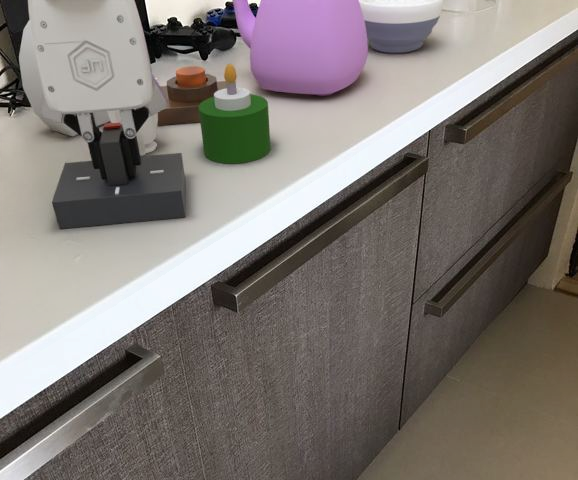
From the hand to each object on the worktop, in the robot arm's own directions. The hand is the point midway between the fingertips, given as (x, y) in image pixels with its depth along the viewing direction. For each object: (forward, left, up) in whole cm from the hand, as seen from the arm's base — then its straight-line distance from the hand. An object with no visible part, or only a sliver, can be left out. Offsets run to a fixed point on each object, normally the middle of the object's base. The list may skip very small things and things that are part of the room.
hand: (119, 171), depth 70 cm
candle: (+13, +12, -4) cm, 18 cm away
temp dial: (0, 0, 0) cm, 0 cm away
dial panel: (0, 0, -3) cm, 3 cm away
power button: (+8, +28, 0) cm, 29 cm away
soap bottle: (-6, +27, -4) cm, 28 cm away
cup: (+1, +14, -4) cm, 14 cm away
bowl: (+43, +52, -4) cm, 68 cm away
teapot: (+25, +36, -4) cm, 44 cm away
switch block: (+8, +28, -3) cm, 29 cm away
